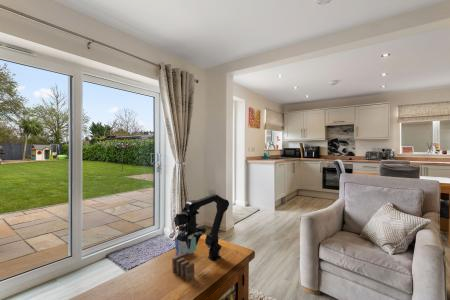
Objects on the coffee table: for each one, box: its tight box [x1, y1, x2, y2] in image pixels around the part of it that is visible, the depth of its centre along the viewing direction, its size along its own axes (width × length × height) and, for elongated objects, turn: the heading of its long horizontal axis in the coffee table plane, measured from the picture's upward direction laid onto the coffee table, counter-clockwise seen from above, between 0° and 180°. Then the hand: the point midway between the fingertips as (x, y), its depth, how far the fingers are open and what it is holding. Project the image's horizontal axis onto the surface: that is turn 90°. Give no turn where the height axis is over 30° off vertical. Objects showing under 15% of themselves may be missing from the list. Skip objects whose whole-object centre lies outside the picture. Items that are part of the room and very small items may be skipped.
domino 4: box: [188, 236, 197, 255], centre depth 132 cm, size 2×5×8 cm, turn 139°
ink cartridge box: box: [174, 231, 190, 257], centre depth 150 cm, size 10×6×14 cm, turn 131°
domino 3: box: [180, 260, 190, 279], centre depth 123 cm, size 2×5×8 cm, turn 136°
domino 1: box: [171, 255, 182, 273], centre depth 129 cm, size 2×5×8 cm, turn 136°
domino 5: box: [185, 262, 196, 283], centre depth 120 cm, size 2×5×8 cm, turn 137°
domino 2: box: [176, 257, 186, 276], centre depth 126 cm, size 2×5×8 cm, turn 137°
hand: (192, 247), depth 132 cm, fingers closed on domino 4, 5 cm apart
